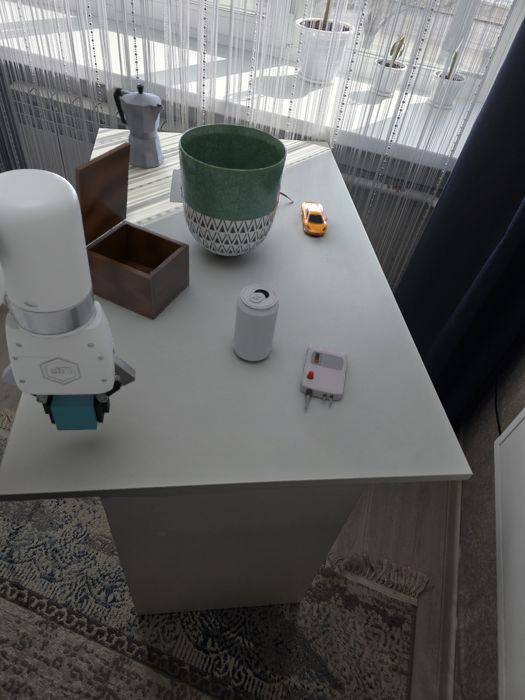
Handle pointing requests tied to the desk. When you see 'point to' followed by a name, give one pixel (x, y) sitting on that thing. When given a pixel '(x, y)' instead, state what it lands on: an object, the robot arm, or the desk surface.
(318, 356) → the white electronic control box
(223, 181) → the planter
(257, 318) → the beverage can
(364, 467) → the desk surface
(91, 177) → the lid
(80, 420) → the block
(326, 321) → the desk surface
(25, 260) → the robot arm
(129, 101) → the coffeepot
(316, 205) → the toy car
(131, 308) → the chest
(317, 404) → the desk surface
